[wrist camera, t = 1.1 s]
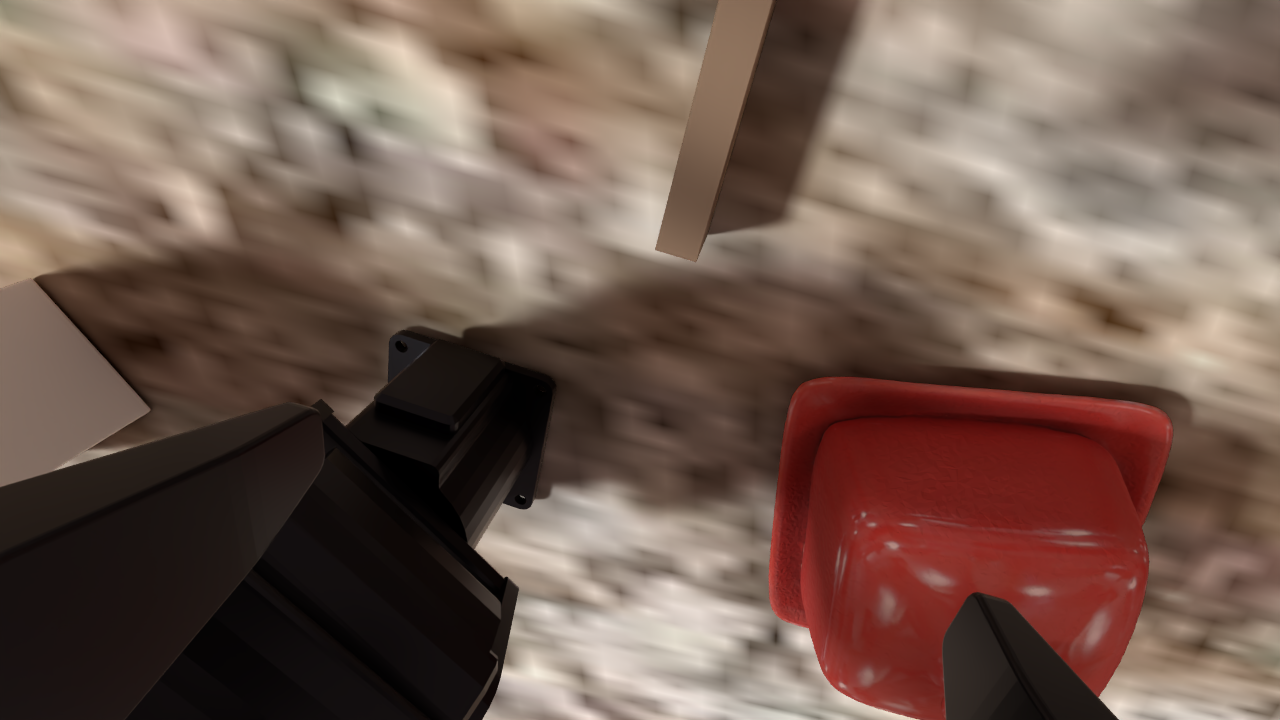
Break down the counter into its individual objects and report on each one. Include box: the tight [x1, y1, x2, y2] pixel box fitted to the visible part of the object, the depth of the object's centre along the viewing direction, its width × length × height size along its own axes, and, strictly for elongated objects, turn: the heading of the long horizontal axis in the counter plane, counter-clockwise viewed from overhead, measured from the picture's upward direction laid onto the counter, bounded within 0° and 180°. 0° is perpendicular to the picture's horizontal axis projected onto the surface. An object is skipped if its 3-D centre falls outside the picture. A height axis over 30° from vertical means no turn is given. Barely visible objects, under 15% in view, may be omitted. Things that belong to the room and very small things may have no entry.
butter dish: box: [769, 377, 1173, 720], centre depth 20 cm, size 12×12×8 cm
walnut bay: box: [655, 0, 777, 262], centre depth 14 cm, size 16×22×2 cm
